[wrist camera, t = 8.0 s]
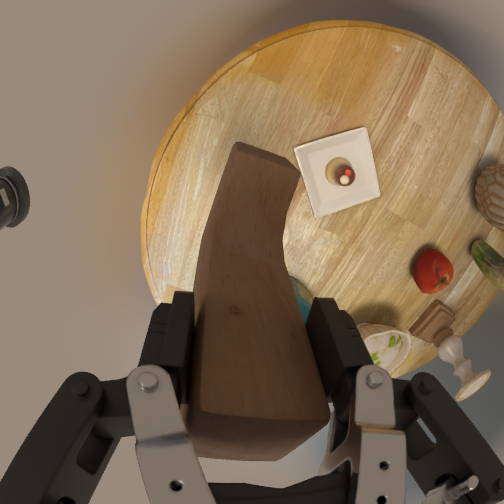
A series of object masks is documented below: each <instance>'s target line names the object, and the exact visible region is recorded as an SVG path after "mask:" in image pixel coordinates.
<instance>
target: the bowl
mask: <svg viewBox="0 0 504 504" xmlns="http://www.w3.org/2000/svg"><path fill="white" fill-rule="evenodd" d="M356 326H357V330H359V332H360V334H361V337H362V339H363V341H364V343H365V345H366V347H367V349H368V352H369V354H370V356H371V358H372V360H373V362H374V365H377V366H380V367H382V368H383V369H385V370H386V371H387V372H388V373H389V374H390V373H392V372H393V371H394V370H395V369H396V368H397V367H398V366H399V365H400V364H401V363H402V362H403V361H404V360H405V359H406V357H407V355H408V353H409V351H410V348H411V346H412V343H411V340H410V337H409V334H408V333H406V332H404V331H402V330H400V329H398V328H394V327H391V326H387V325H381V324H370V323H367V322H365V323H360V324H358V325H356Z"/></svg>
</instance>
